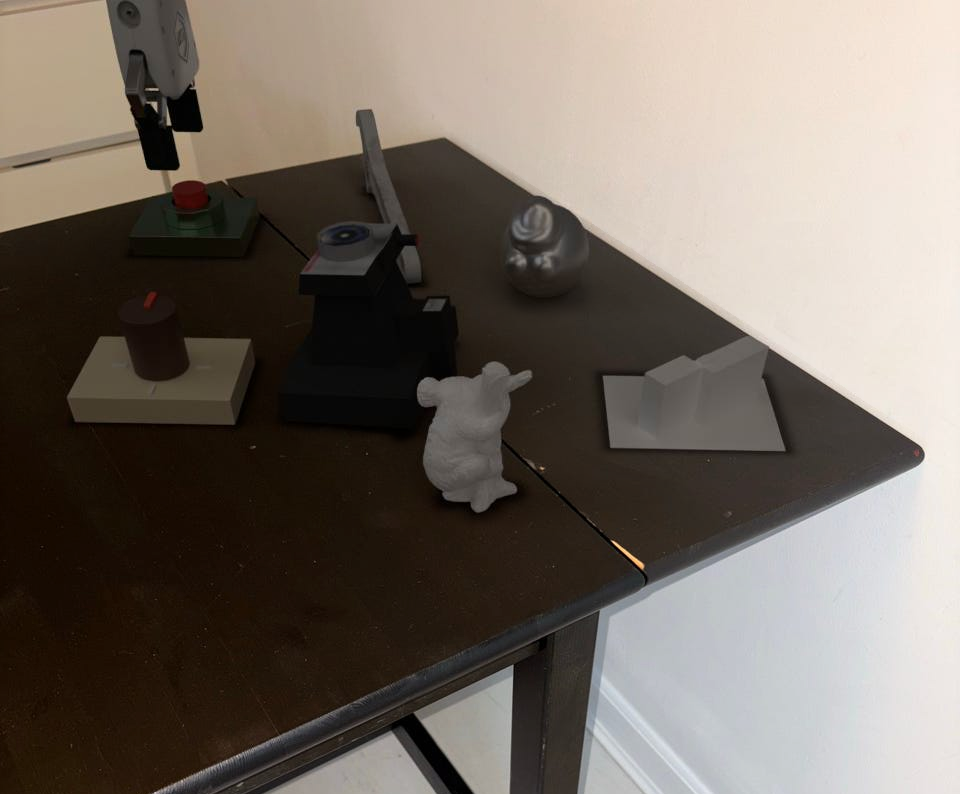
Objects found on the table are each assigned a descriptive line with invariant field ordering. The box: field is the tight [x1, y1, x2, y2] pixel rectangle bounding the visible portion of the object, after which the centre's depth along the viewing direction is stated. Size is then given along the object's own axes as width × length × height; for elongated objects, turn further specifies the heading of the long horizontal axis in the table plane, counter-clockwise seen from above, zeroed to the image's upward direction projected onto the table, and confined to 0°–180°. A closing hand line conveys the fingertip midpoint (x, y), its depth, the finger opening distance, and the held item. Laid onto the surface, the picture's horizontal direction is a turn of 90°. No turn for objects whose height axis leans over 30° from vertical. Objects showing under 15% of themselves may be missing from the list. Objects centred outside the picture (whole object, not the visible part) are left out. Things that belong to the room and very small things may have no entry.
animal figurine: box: [417, 361, 533, 514], centre depth 75 cm, size 8×7×12 cm
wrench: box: [355, 108, 422, 285], centre depth 110 cm, size 8×2×30 cm
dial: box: [117, 291, 190, 381], centre depth 85 cm, size 5×5×6 cm
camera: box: [276, 220, 459, 429], centre depth 85 cm, size 16×14×15 cm
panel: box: [66, 336, 256, 426], centre depth 88 cm, size 14×10×3 cm
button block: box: [128, 187, 261, 258], centre depth 109 cm, size 12×10×4 cm
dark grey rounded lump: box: [500, 195, 590, 299], centre depth 98 cm, size 9×10×10 cm
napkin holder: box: [602, 334, 786, 452], centre depth 85 cm, size 15×11×6 cm
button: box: [171, 179, 209, 208], centre depth 107 cm, size 4×4×2 cm
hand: (176, 149), depth 100 cm, fingers open, 9 cm apart
